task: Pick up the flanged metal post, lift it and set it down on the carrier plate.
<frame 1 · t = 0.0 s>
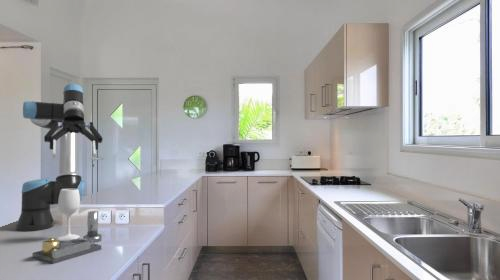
hand: (74, 155, 123), 36 cm above the counter, tool tilted 35°, fingers open, 13 cm apart
wineglass: (68, 238, 137), on the counter
carrier plate: (68, 253, 117), on the counter
flanged metal post: (92, 240, 133), on the counter
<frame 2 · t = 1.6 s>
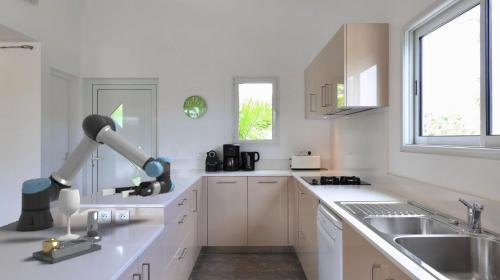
hand: (111, 193, 142), 19 cm above the counter, tool horizontal, fingers open, 13 cm apart
nothing on the counter moved.
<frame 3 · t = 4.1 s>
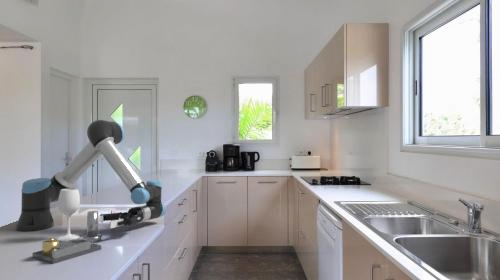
hand: (99, 223, 136), 7 cm above the counter, tool horizontal, fingers open, 13 cm apart
nothing on the counter moved.
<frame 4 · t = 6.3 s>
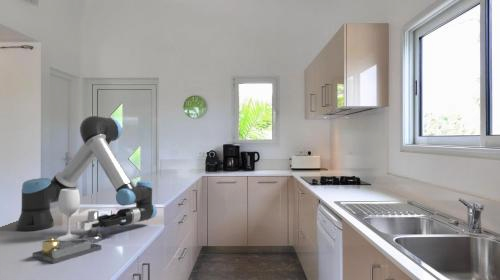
hand: (80, 226, 129), 7 cm above the counter, tool horizontal, fingers closed on flanged metal post, 4 cm apart
flanged metal post: (92, 240, 133), on the counter, touching gripper
everything else where it was.
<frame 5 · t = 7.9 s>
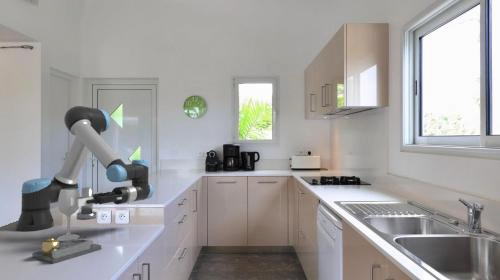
hand: (74, 202, 122), 18 cm above the counter, tool horizontal, fingers closed on flanged metal post, 4 cm apart
flanged metal post: (86, 218, 127), point 11 cm above the counter, touching gripper
everything else where it was.
when the fingers open (10 cm above the counter, at t = 9.9 s): flanged metal post drops 2 cm, resting on carrier plate.
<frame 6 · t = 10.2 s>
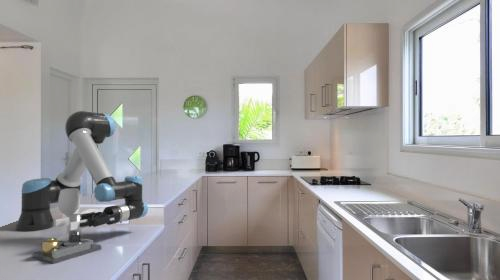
hand: (62, 225, 117), 10 cm above the counter, tool horizontal, fingers open, 8 cm apart
flanged metal post: (74, 246, 121), point 1 cm above the counter, touching carrier plate
everything else where it was.
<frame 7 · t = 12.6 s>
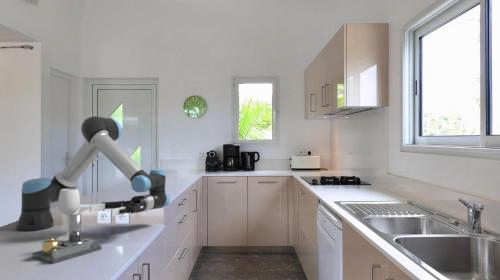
hand: (100, 210, 131), 13 cm above the counter, tool horizontal, fingers open, 13 cm apart
nothing on the counter moved.
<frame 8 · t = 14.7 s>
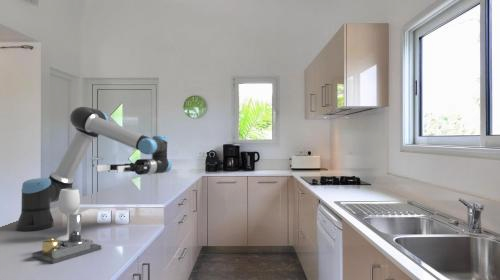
hand: (106, 168, 138), 30 cm above the counter, tool horizontal, fingers open, 13 cm apart
nothing on the counter moved.
at the end: flanged metal post 0.1 cm from the target spot, point 1.5 cm above the counter; flanged metal post tilted 0°; the gripper is holding nothing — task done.
